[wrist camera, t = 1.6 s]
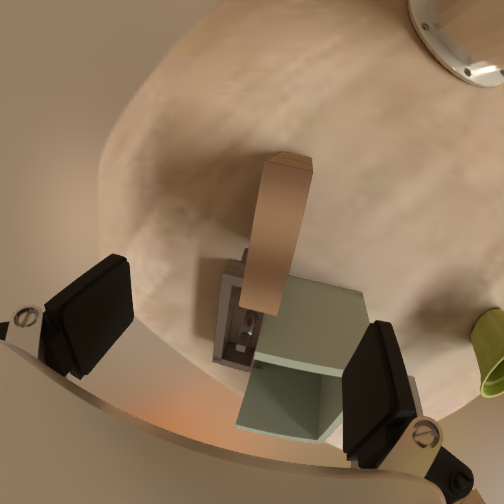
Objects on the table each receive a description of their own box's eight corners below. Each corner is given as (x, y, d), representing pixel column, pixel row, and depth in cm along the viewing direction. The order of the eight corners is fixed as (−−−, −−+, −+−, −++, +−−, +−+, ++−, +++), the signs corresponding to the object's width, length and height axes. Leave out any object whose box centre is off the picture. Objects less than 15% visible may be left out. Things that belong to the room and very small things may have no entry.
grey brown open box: (231, 257, 27) (187, 327, 17) (285, 271, 26) (267, 350, 17) (219, 345, 33) (188, 414, 23) (261, 356, 32) (241, 430, 22)
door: (273, 149, 22) (247, 158, 13) (311, 157, 22) (313, 172, 13) (256, 243, 26) (225, 303, 17) (290, 251, 26) (276, 316, 17)
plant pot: (469, 362, 26) (487, 406, 19) (450, 330, 25) (474, 381, 17) (515, 322, 22) (540, 361, 15) (503, 282, 21) (538, 324, 13)
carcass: (277, 272, 27) (255, 351, 17) (362, 292, 26) (379, 375, 16) (256, 354, 32) (234, 427, 22) (325, 369, 31) (321, 444, 21)
